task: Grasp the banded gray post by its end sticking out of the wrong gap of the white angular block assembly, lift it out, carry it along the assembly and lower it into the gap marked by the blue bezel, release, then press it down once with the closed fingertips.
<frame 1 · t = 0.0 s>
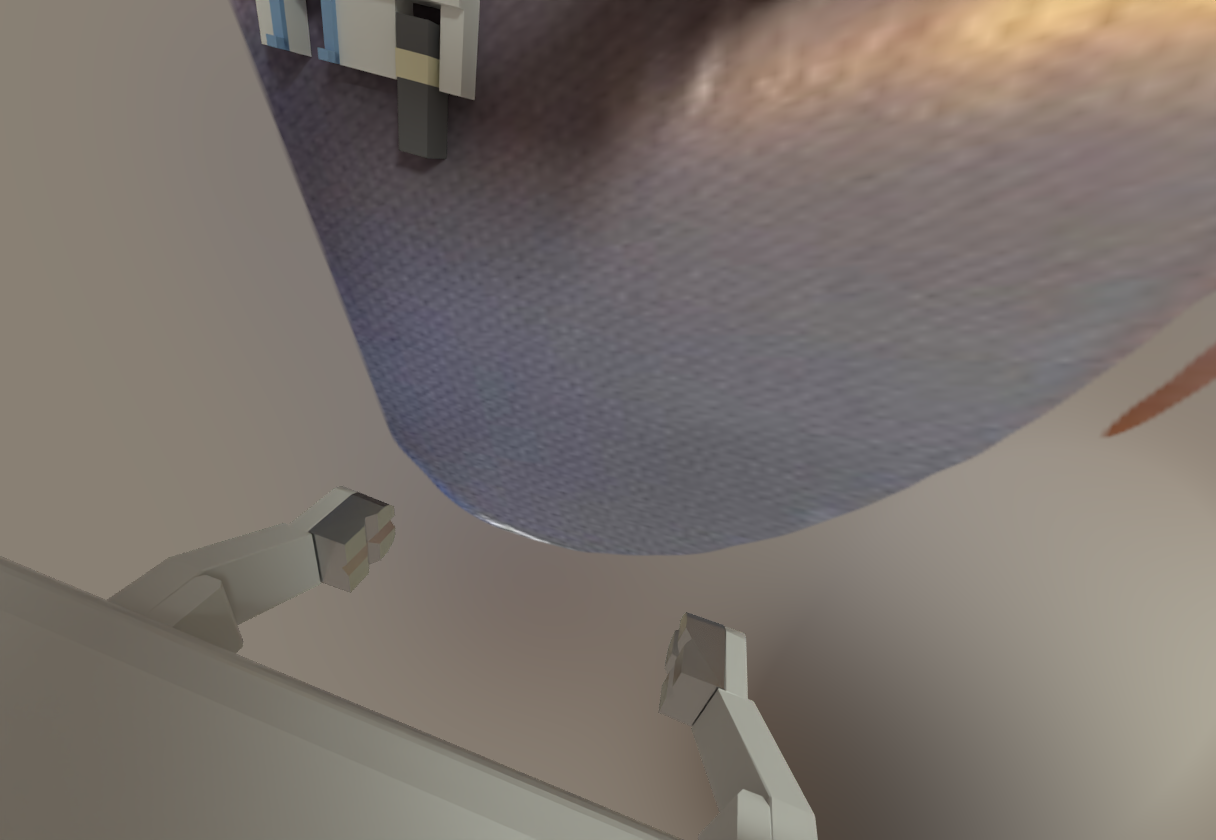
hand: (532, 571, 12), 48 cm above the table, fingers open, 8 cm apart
white angular block assembly: (375, 29, 49), on the table
banded gray post: (434, 94, 51), on the table
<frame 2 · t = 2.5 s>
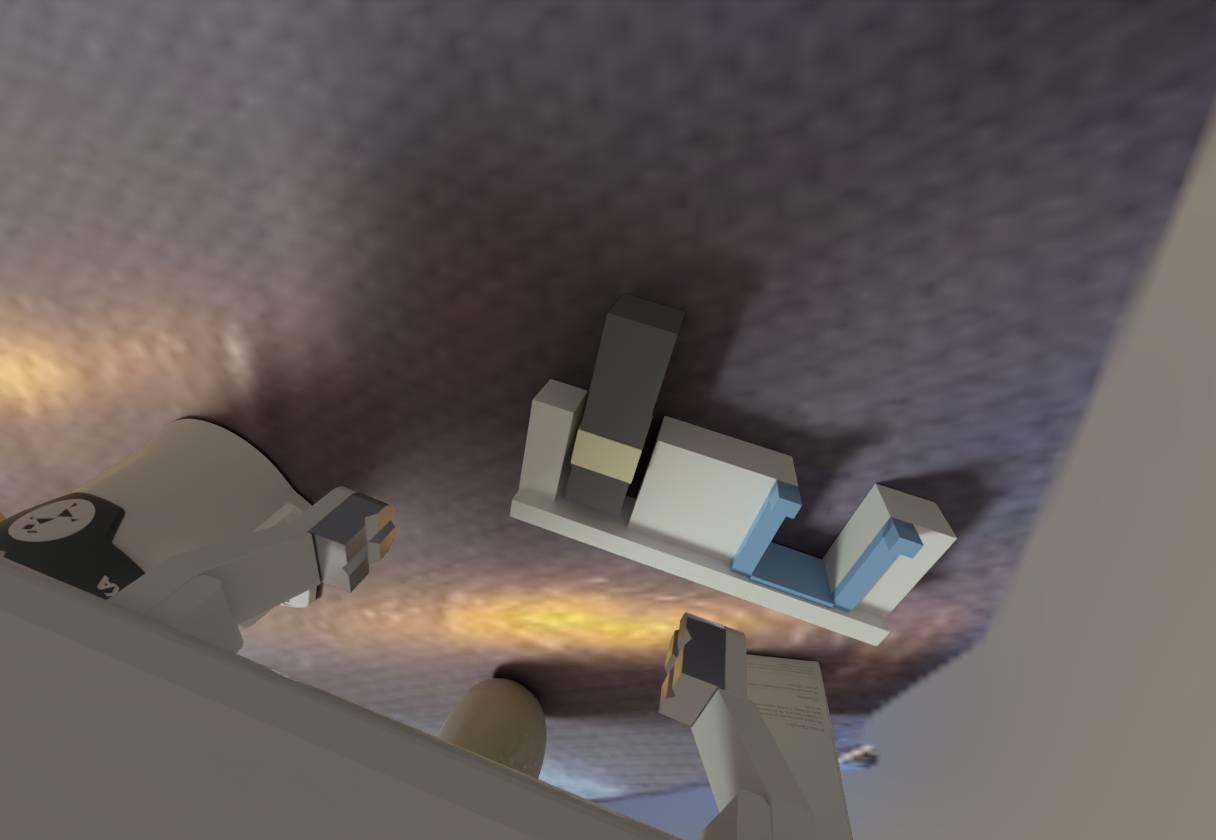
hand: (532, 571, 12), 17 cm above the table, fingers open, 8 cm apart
white angular block assembly: (713, 487, 29), on the table
banded gray post: (628, 395, 28), on the table
supplement box: (771, 680, 38), on the table
glass bottle: (515, 688, 48), on the table
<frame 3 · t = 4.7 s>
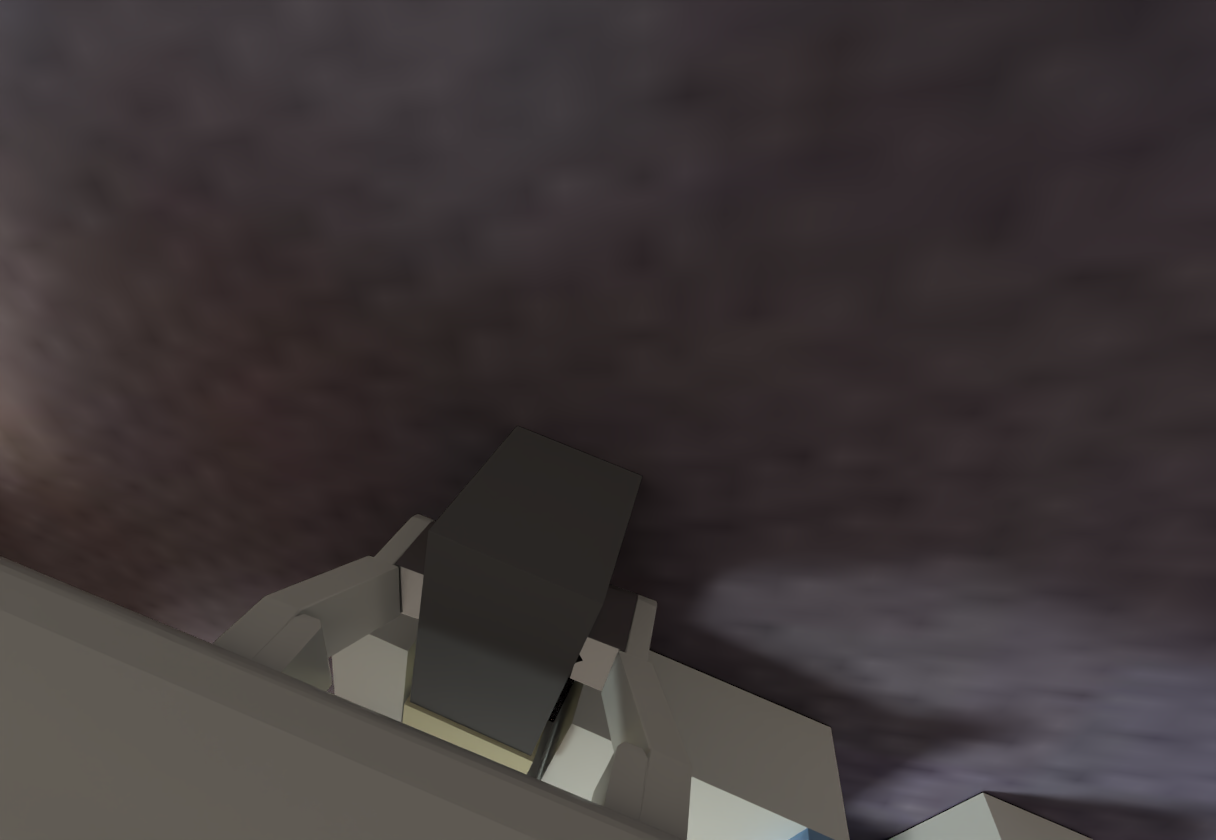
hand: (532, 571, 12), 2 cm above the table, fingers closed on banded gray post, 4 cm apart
white angular block assembly: (682, 736, 17), on the table
banded gray post: (533, 589, 15), on the table, touching gripper
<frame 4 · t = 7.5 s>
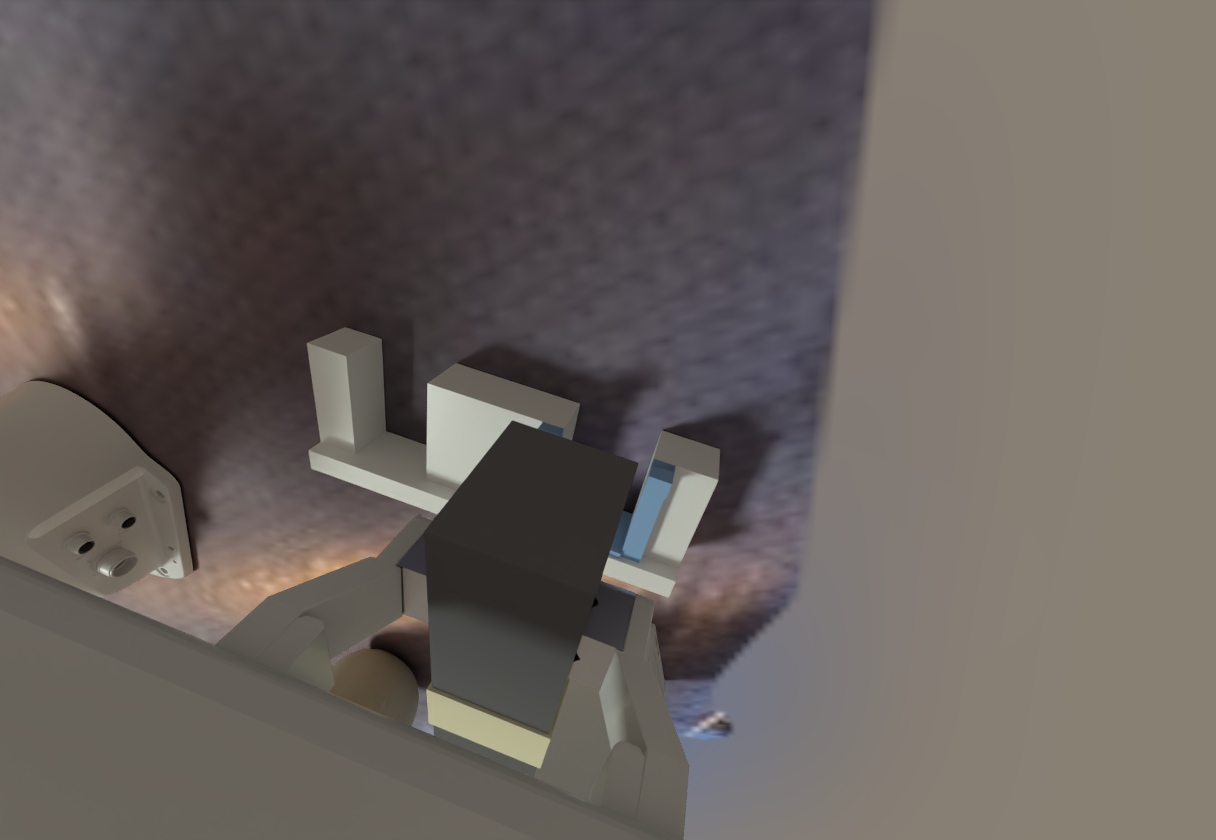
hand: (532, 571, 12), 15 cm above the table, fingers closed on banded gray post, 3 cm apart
white angular block assembly: (517, 439, 29), on the table
banded gray post: (545, 575, 15), point 13 cm above the table, touching gripper
supplement box: (619, 645, 37), on the table
glass bottle: (394, 660, 47), on the table
when the fingers open (2 cm above the table, at t = 9.9 s): banded gray post stays where it is, on the table.
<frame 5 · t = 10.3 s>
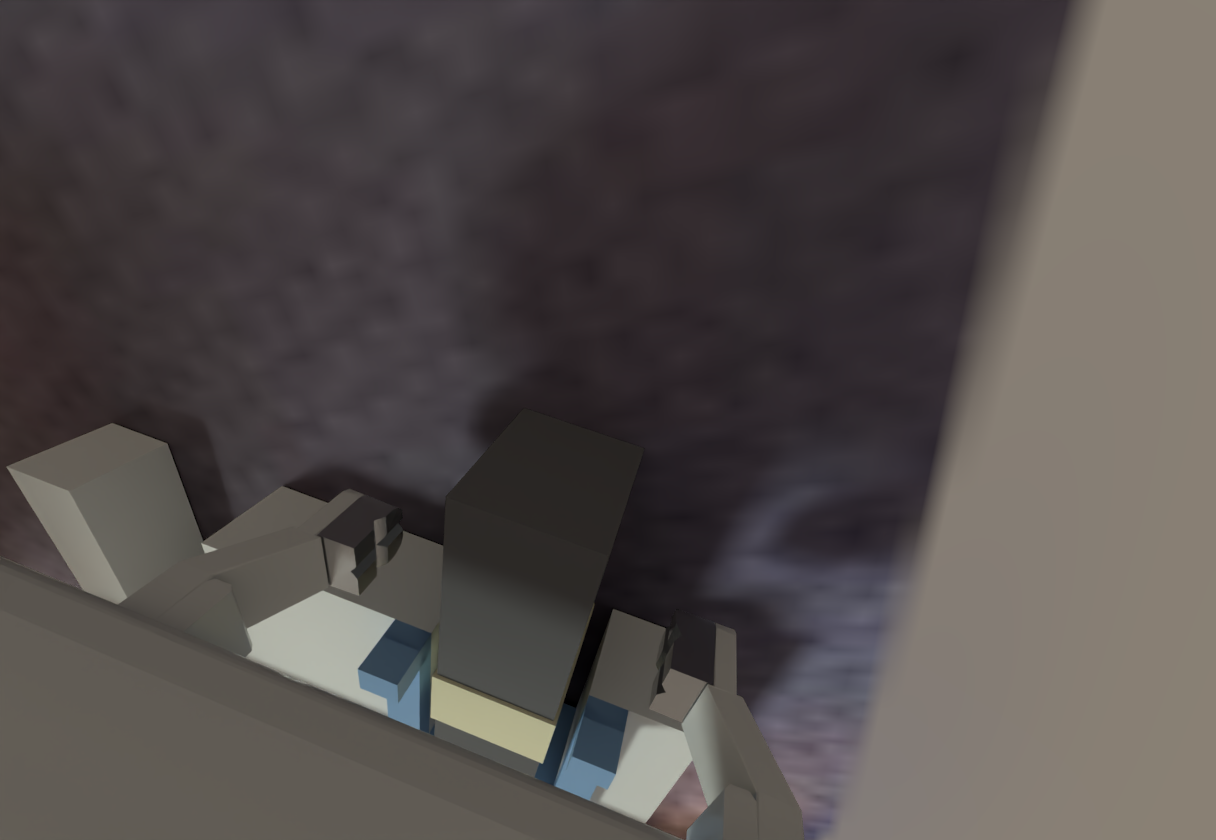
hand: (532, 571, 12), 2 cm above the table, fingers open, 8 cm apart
white angular block assembly: (394, 594, 18), on the table
banded gray post: (549, 569, 15), on the table
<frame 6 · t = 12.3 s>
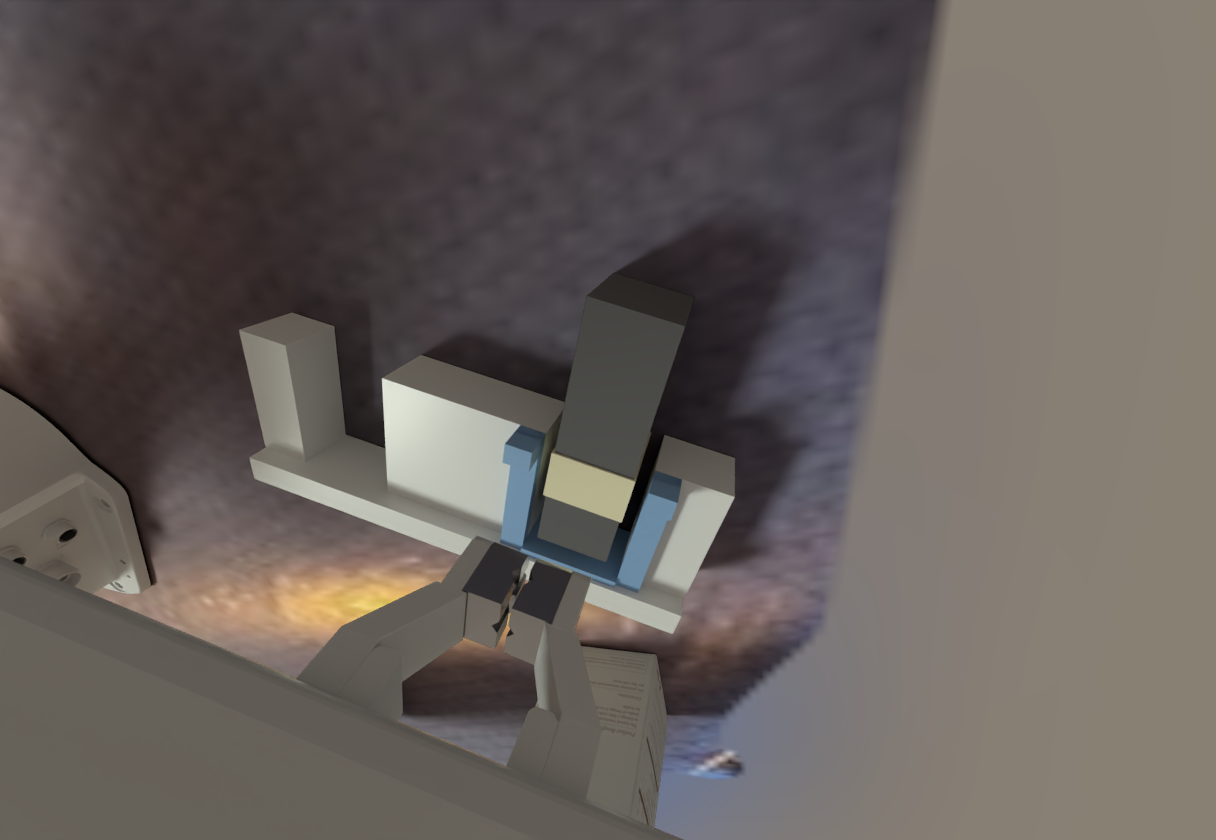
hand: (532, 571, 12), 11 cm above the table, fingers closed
white angular block assembly: (495, 444, 25), on the table
banded gray post: (619, 406, 22), on the table
supplement box: (615, 676, 33), on the table
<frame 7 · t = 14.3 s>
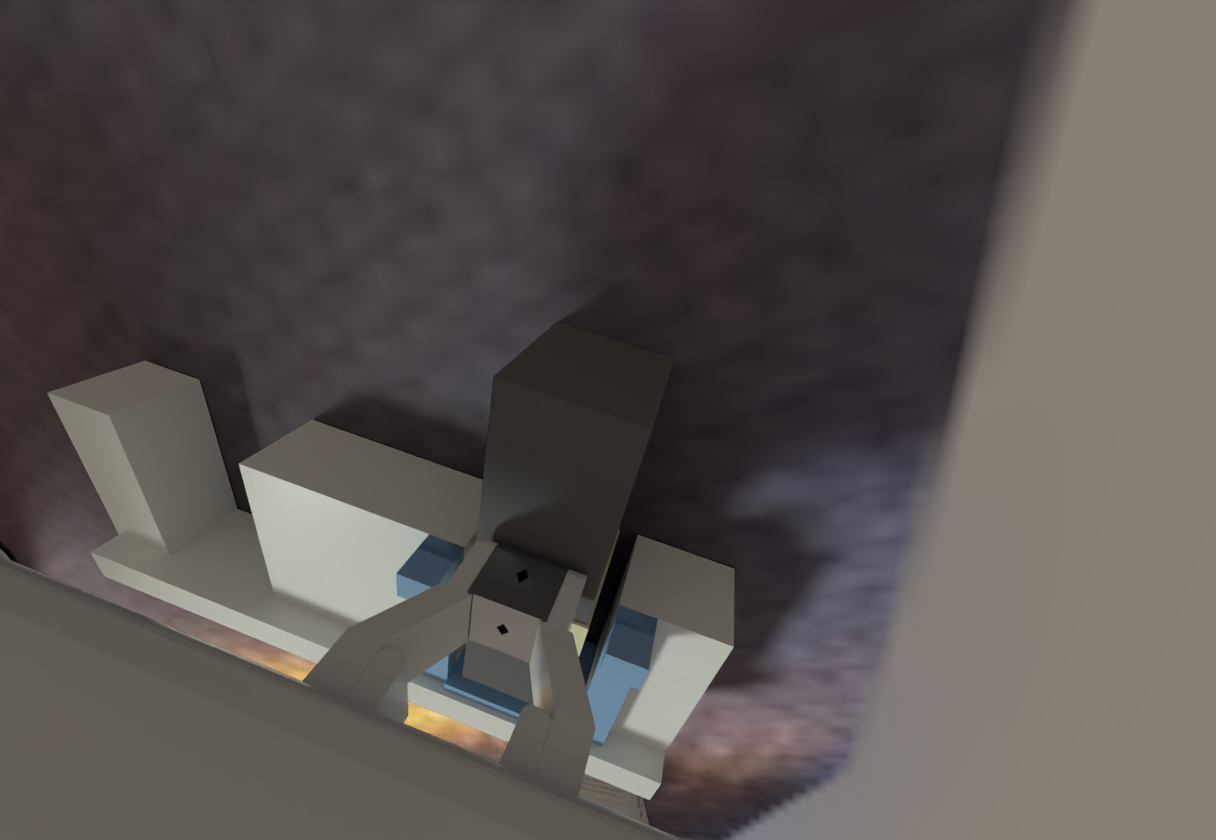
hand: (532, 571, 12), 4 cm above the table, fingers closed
white angular block assembly: (419, 532, 19), on the table
banded gray post: (575, 496, 16), on the table
supplement box: (589, 788, 27), on the table
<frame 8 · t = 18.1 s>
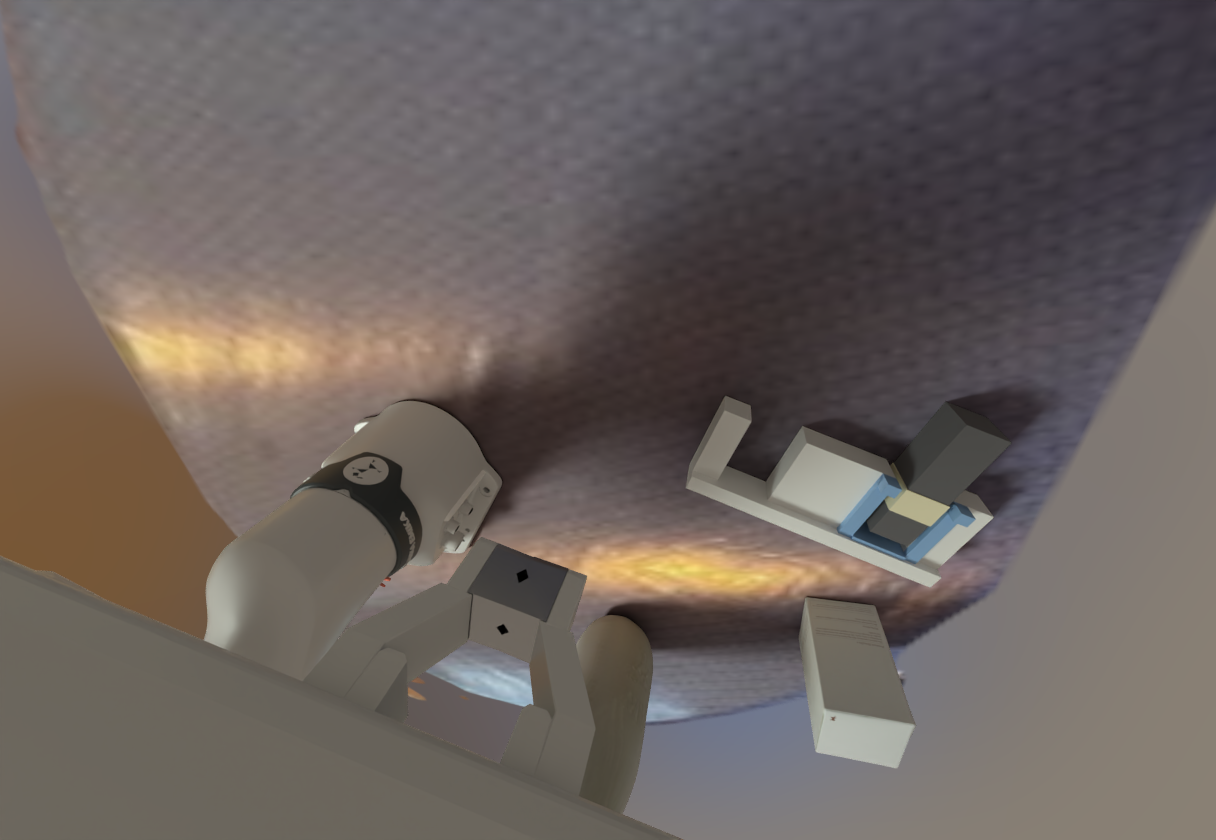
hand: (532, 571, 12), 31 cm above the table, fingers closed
white angular block assembly: (825, 476, 43), on the table
banded gray post: (917, 463, 40), on the table
supplement box: (835, 620, 52), on the table
glass bottle: (621, 625, 61), on the table
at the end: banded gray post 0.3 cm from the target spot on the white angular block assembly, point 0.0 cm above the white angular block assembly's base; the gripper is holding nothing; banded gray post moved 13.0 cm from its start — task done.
